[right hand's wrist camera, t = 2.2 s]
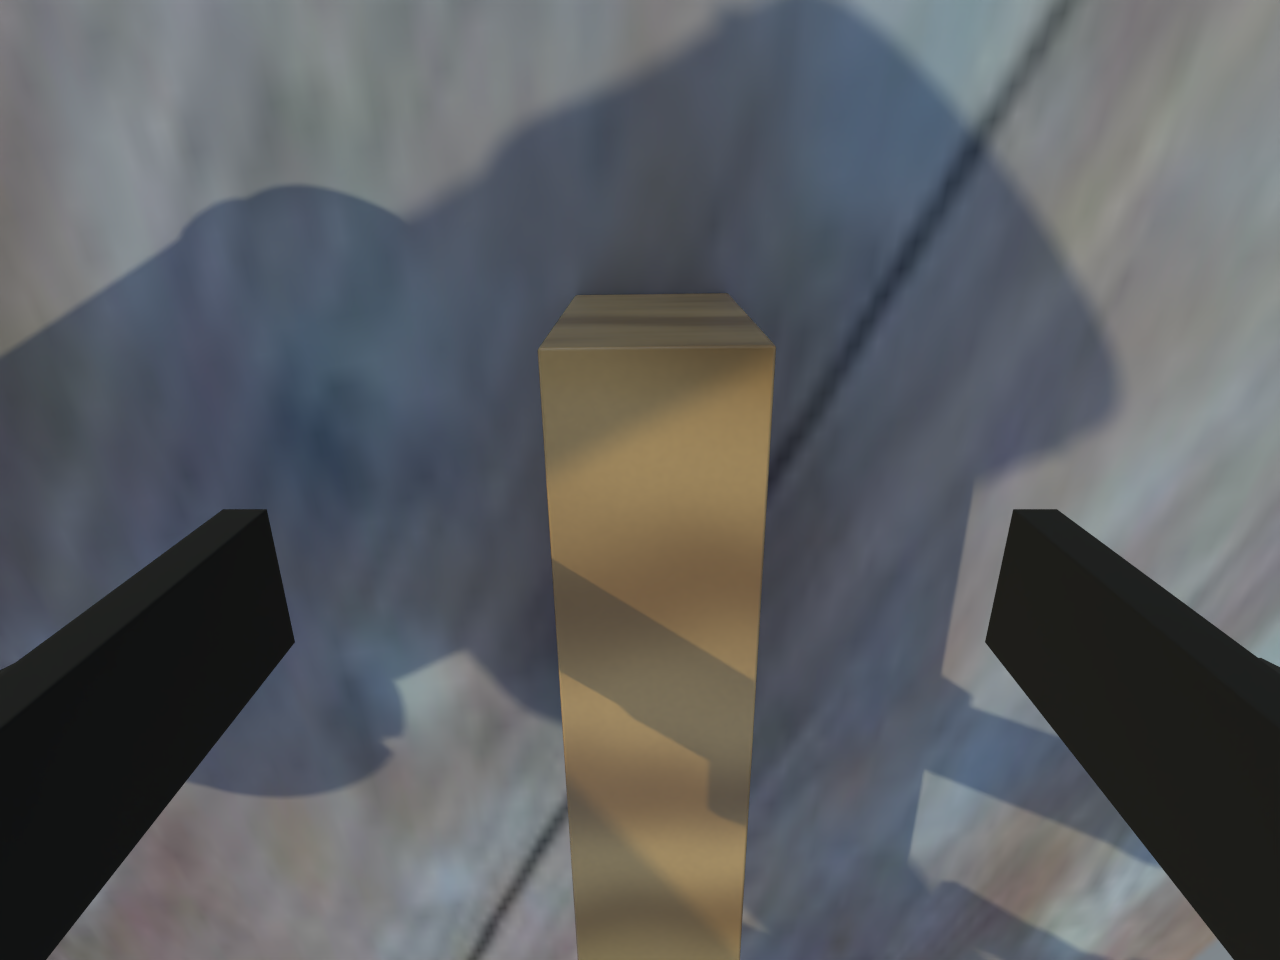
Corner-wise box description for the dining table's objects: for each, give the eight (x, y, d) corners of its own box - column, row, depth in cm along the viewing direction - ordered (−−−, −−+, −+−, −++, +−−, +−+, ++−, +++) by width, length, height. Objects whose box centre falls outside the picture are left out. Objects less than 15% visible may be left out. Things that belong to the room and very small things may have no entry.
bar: (574, 294, 23) (537, 348, 15) (728, 293, 23) (776, 345, 15) (597, 793, 31) (580, 1009, 23) (712, 793, 31) (737, 1008, 23)
